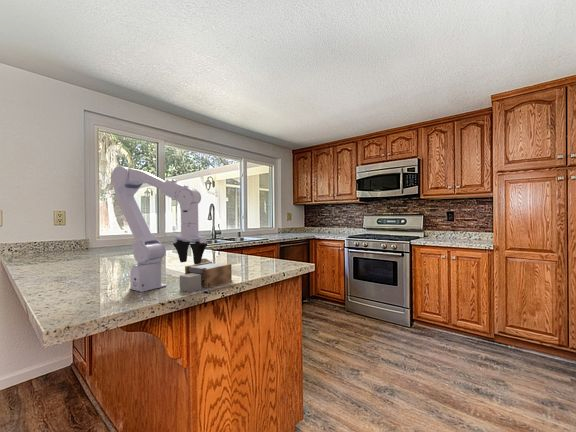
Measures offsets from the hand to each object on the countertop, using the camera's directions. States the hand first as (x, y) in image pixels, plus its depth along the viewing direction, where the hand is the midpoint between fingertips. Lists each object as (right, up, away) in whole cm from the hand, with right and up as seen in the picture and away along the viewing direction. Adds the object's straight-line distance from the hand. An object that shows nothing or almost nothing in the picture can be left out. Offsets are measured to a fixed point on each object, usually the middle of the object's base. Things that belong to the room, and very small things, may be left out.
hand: (190, 263), depth 99 cm
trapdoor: (+3, -4, +10) cm, 11 cm away
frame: (+4, -9, +11) cm, 15 cm away
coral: (-2, -9, +26) cm, 28 cm away
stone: (0, -9, 0) cm, 9 cm away
